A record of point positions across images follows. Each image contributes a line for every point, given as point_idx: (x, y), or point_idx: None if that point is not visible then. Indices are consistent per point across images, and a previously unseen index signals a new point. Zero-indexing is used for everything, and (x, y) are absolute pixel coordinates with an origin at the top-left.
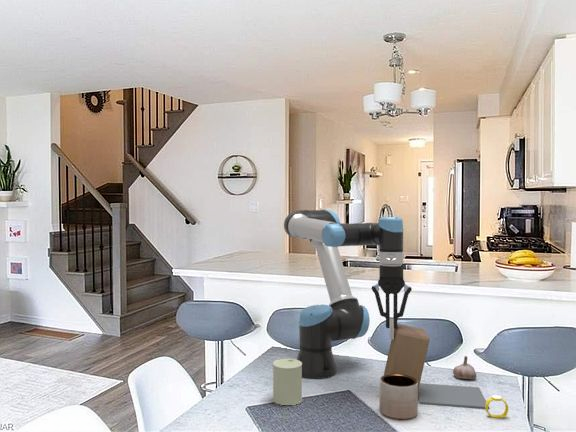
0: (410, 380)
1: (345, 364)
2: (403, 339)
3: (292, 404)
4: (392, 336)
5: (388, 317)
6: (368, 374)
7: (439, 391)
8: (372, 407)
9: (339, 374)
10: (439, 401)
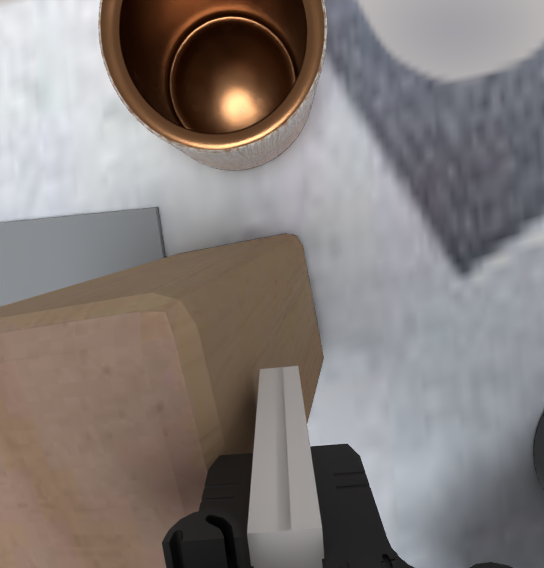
0: (152, 105)
1: (499, 556)
2: (145, 285)
3: None
4: (271, 382)
5: (346, 554)
6: (391, 469)
7: None
8: (344, 108)
9: (516, 436)
10: (77, 235)
